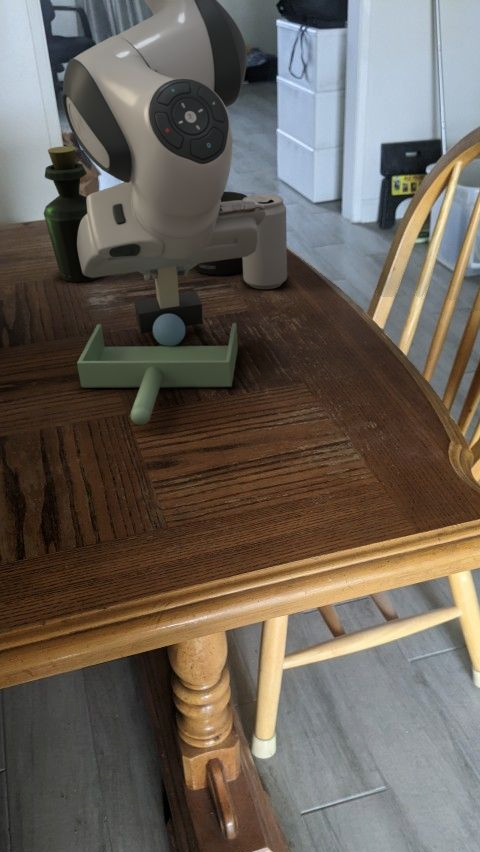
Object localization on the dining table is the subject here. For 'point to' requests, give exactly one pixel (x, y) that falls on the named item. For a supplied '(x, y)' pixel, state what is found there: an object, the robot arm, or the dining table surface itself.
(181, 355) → the dustpan
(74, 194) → the potion bottle
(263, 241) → the beverage can
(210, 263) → the pen holder
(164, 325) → the foam ball
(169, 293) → the brush
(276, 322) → the dining table surface
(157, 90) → the robot arm
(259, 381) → the dining table surface
